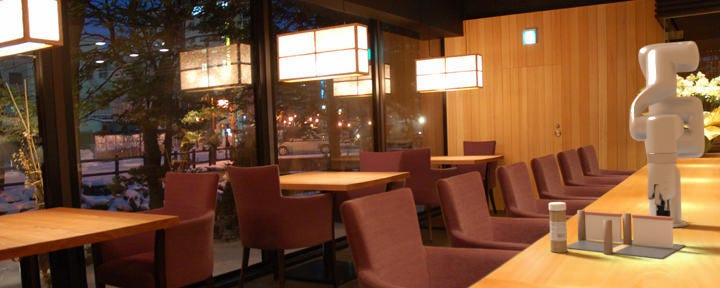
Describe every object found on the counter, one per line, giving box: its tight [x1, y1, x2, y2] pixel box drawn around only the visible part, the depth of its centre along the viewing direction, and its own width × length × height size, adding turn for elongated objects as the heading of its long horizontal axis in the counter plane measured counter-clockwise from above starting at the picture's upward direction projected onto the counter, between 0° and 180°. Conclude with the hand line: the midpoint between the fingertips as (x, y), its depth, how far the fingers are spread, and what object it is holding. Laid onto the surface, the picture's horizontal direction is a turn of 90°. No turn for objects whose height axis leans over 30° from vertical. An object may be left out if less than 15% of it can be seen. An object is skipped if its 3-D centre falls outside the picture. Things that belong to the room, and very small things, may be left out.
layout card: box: [567, 238, 686, 260], centre depth 169 cm, size 20×26×1 cm
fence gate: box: [631, 214, 674, 247], centre depth 167 cm, size 10×2×8 cm, turn 47°
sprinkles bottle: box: [548, 201, 568, 254], centre depth 167 cm, size 5×5×13 cm
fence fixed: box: [576, 209, 633, 256], centre depth 171 cm, size 16×15×9 cm
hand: (663, 224), depth 171 cm, fingers closed
